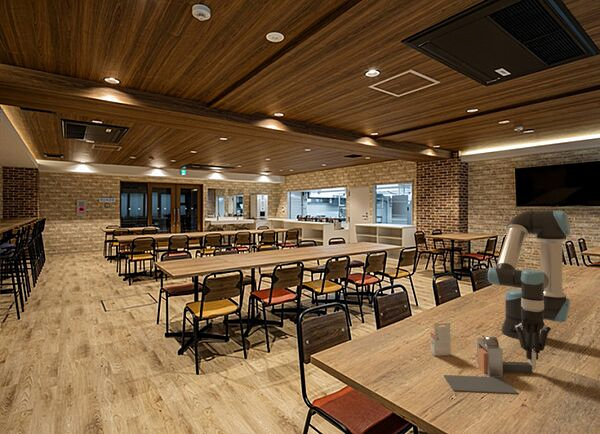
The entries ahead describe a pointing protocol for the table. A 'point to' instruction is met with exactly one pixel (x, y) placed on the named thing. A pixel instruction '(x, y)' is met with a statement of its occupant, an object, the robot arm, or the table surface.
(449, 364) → the table surface
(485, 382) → the mat
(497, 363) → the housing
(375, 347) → the table surface
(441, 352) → the ink box
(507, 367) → the plug
